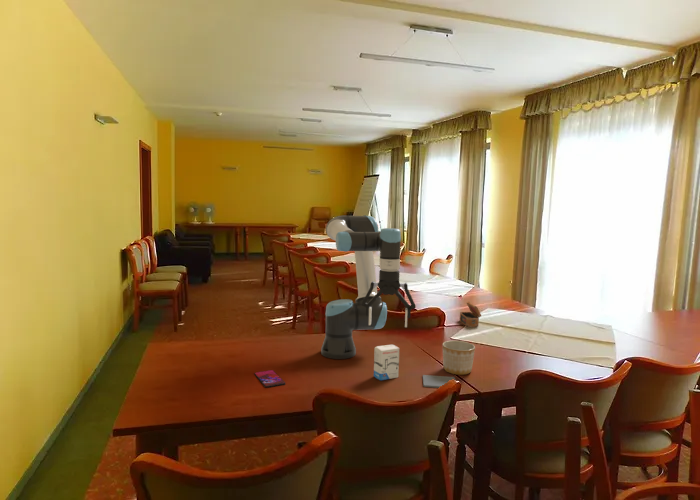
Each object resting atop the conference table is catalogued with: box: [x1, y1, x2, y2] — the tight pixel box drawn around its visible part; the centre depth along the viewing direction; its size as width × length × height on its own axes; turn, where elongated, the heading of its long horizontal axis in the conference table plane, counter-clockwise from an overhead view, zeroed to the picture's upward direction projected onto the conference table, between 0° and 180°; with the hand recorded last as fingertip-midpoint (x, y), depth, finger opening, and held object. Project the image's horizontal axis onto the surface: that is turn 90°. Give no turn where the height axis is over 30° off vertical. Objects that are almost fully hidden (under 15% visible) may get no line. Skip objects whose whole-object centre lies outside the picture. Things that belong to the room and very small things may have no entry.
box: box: [459, 301, 482, 328], centre depth 257 cm, size 28×28×12 cm
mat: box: [422, 374, 456, 389], centre depth 173 cm, size 12×10×1 cm
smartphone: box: [254, 369, 286, 389], centre depth 173 cm, size 8×1×15 cm
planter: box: [442, 340, 476, 376], centre depth 185 cm, size 13×13×10 cm
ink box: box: [373, 344, 400, 382], centre depth 177 cm, size 9×5×12 cm, turn 118°
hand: (387, 325), depth 175 cm, fingers open, 13 cm apart
